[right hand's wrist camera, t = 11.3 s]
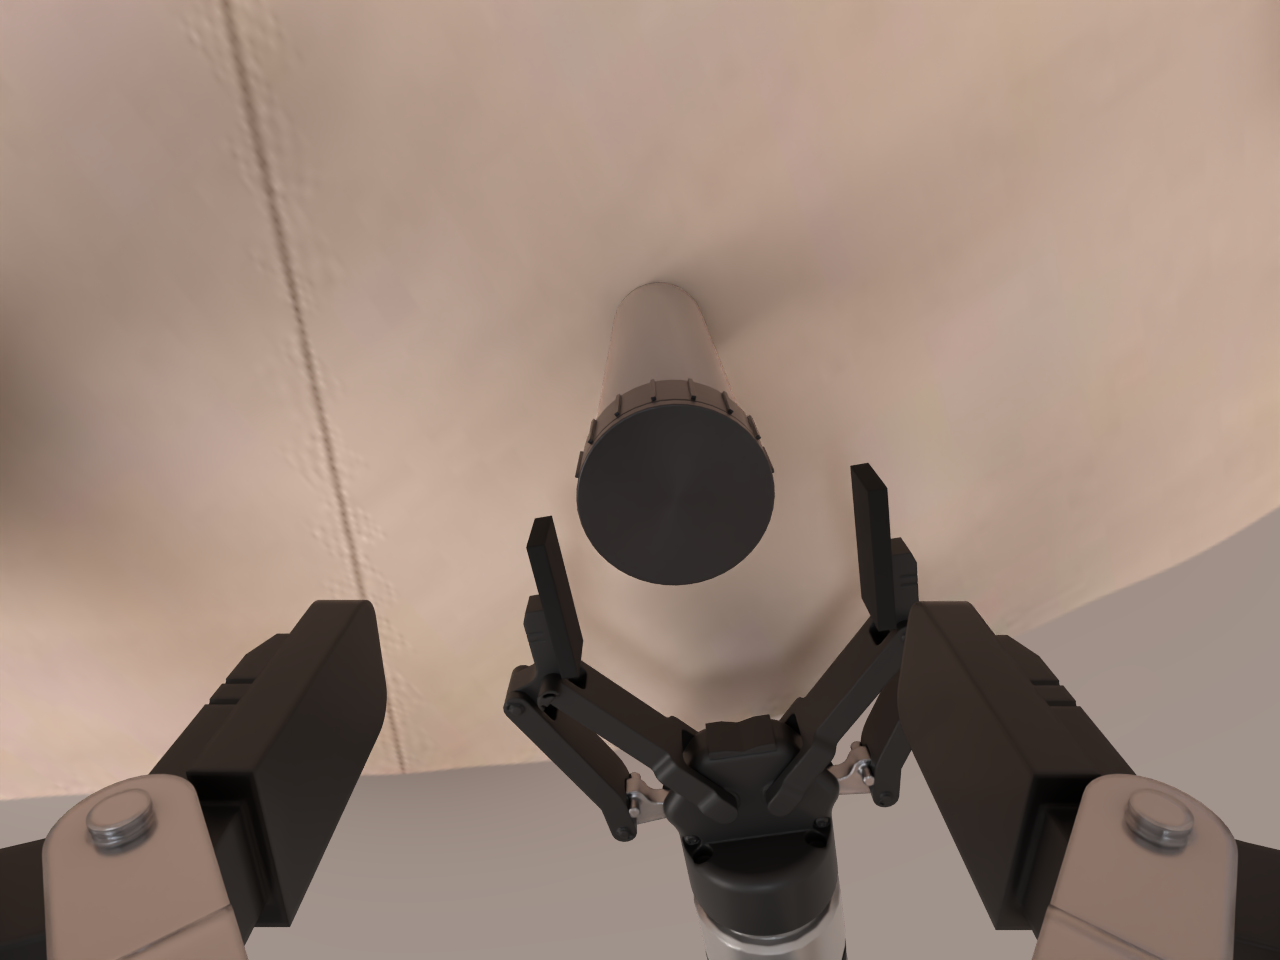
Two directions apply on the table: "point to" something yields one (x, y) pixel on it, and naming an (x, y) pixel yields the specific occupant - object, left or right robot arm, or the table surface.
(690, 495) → the lid
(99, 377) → the table surface
